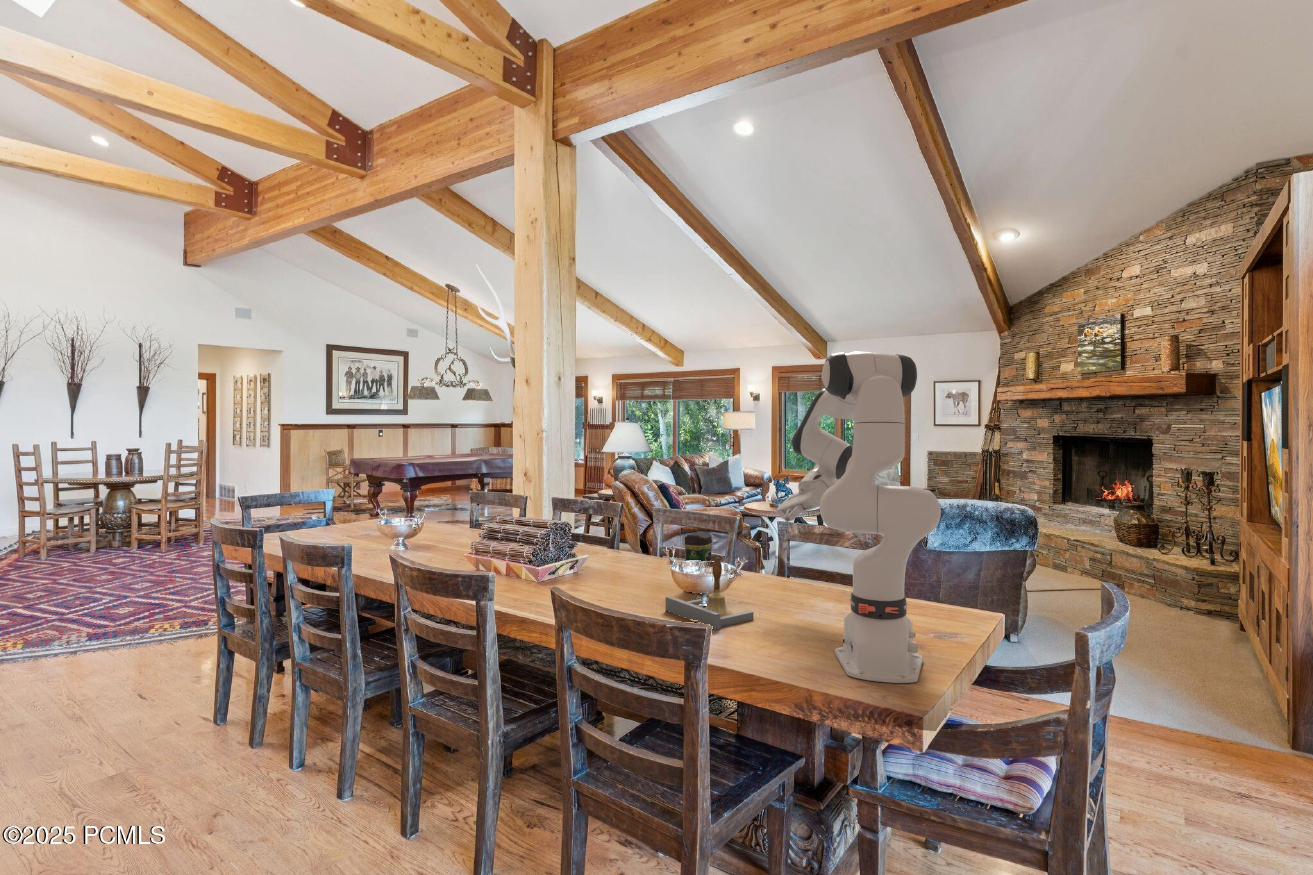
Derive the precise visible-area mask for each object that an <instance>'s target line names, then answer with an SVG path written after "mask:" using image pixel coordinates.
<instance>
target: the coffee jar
mask: <svg viewBox="0 0 1313 875" xmlns="http://www.w3.org/2000/svg"><path fill="white" fill-rule="evenodd" d="M712 538H713V537H712V534H711V533H710V532H709V531H702V530H701V531H699V530H698V531H696V532H692V533H689V534H687V535H685V536H684V550H685V561H686V560H701V561H711V562H712V563H713V561H712V558H713V557H712V551H713V550H712V548H713V539H712Z"/></svg>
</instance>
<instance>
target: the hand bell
mask: <svg viewBox="0 0 1313 875" xmlns="http://www.w3.org/2000/svg"><path fill="white" fill-rule="evenodd" d="M712 563H713V564H712V577H713V592H712V593H710V594H709V595H708V597H707V598H708V603H707V606H706V607H704V608H705V609H708V610H711V611H714V612H717V613H719V614H720V617H723V616H728V615H732V612H731V611H730V610H729V609H728V607H727V604H726V600H725V599H726V598H725V594H722V593H721V592H720V589H721V588H720V586H721V584H720V582H721V581H720V580H721V576H722V572H723V569H722V568H723V567H722V566H723V565H722V563H721V558H720V557H719V556H717V557H716V556H715V557H714V561H713V562H712Z"/></svg>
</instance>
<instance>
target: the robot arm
mask: <svg viewBox="0 0 1313 875" xmlns="http://www.w3.org/2000/svg"><path fill="white" fill-rule="evenodd" d="M917 380H918V368H917V365H916V362H915V361H914V359H912V357H910V356H908V355H904V354H899V353H896V354H889V353H881V352H871V351H852V352H849V353H848V352H846V353H845V352H836V353H831V354H830V355H829V356H828V357H827V358H826V359H825V361H824V365H823V366H822V370H821V381H822V384H823V388H822V389H820V391H819V392H818V393H817V394H816V395H815V396H814V398H813V400H812V401H811V403H810V405H809V406H808V408H807V411H805V412H806V413H805V414H804V417H803V418H802V420H801V423H800V424H799V426H798V428H797V429H796V430H795V432H794V434H793V435H792V438H791V441H790V443H791V447H792V449H793V452H794V453H795V454H797V455H799V456H802V457H804V458H806V459H808V460H810V461H812V462H813V463H815V465H814V466H813V469H811V470H810V471H808V472H807V473H806V475H804V477H803V478H802V479H801V480H800V482H798V485H797V488H798V492H796V493H793V494H791V495H789V496H788V497H787V498H786V499H785V500H784V501H783V502H782V503H781V504H779V506H778V507H777V509H776V510H775V511H776V513H777V514H778V516H779V517H781V518H782V520H784V521H785V522H787V523H788V522H790V521H794V520H795V518H797V517H798V516H799V515H800V514H803V513H805V512H808V511H810V510H813V509H816V508H819V513H820V517H821V519H822V521H823V523H824V524H825V525H826V526H827V527H828V528H829V529H832V530H837V531H840V532H841V531H842V532H844V533H845V532H846V533H850V534H851V533H853V534H855V533H856V534H873V535H874V534H875V535H880V536H882V537H881V538H882V539H881V542H880V543H879V544H878V545H876V546H873V547H871V548H869V549H865V550H864V551H862V552H860V553H859V554H857V555H856V557H855V558H854V560H853V562H852V592H851V593H850V600H849V602H850V610H851V611H850V612H849V613H848V614H847V615H845V617H843V639H842V642H843V646H841V647H840V646H839V647H836V648H835V649H834V654H835V657H836V659H837V660H838V661H839V663H840V665H841V667H842V668H843V670H844V672H845V673H846V675H847V676H849V677H852V678H856V679H859V680H864V681H865V680H866V681H872V682H880V683H881V682H882V683H891V684H893V683H895V684H909V683H911V684H912V683H917V682H918V681H919V677H920V674H921V670H922V666H923V662H924V659H923V655H922V654H919V653H918V642H916V641H913V639H916V632H915V631H913V629H914V628H913V626H914V625H913V621H911V619H910V618H909V617H907V614H908V613H907V610H908V609H907V608H908V602H907V597H906V595H905V580H906V568H907V563H908V560H909V557H910V554H911V552H912V550H913V549H914V548H915V547H916V545H917V544H918V543H919V542H921V540H922V539H924V537H926V536H928V535H929V534H931V533H932V532H934V530H935V529H936V528H937V526H938V525H939V523H940V521H941V515H942V509H941V504H940V501H939V499H938V498H937V496H936V495H935V494H934V493H933V492H932V491H931V490H930V489H929V490H928V489H925V488H920V487H913V486H910V485H909V486H908V485H884V484H883V485H882V484H880V485H879V484H877V483H875V481H876V478H877V476H878V475H879V474H881V473H883V472H886V471H887V470H891V469H892V468H894V467H896V466H897V465H899V464H900V463H901V462H902V461H903V459H905V458H904V457H905V454H906V450H905V449H906V447H905V446H906V437H905V436H906V413H905V403H904V398H905V397H909V396H910V395H911V394H912V392H914V390H915V389H916V385H917ZM823 416H827V417H832V418H837V419H840V420H851V419H853V439H852V440H853V442H852V445H851V444H849V442H846V441H844V439H841V438H839V437H837V436H835V435H833V434H831V433H830V432H829V431H826V430H824V429H823V428H821V427H820V426H819V423H820V421H821V419H822V417H823Z"/></svg>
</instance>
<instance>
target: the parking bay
mask: <svg viewBox="0 0 1313 875" xmlns="http://www.w3.org/2000/svg"><path fill="white" fill-rule="evenodd" d="M701 599H702V598H699V599H694V600H687V601H685V600H682V599H680V598H677V597H673V596H671V595H670V596H665V611H666V610H667V611H670V612H672V613H675V614H676V615H675V614H674V615H675V616H677V615H680V616H682V617H686V619H685V620H688V619H693V620H698V621H695V622H701V623H704V624H710V625H711V626H713V629H712V630H714V631H718V630H721V628H722V627H726V626H731V625H735V624H740V623H744V622H748V621H754V618H755V617H754V615H755V614H754V611H751V610H748V611H743V612H739V613H738V612H737V613H733V614H731V615H728V616H723V617H720V614H719V613H717V612H714V611H711V610H708V609H705V608H706V607H700V606H698V605H699V604H701V602H702V601H703V600H701ZM667 611H666V612H667ZM670 612H669V613H670ZM672 613H671V614H672ZM680 616H679V617H680ZM682 617H681V618H682ZM695 622H694V623H695Z"/></svg>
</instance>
